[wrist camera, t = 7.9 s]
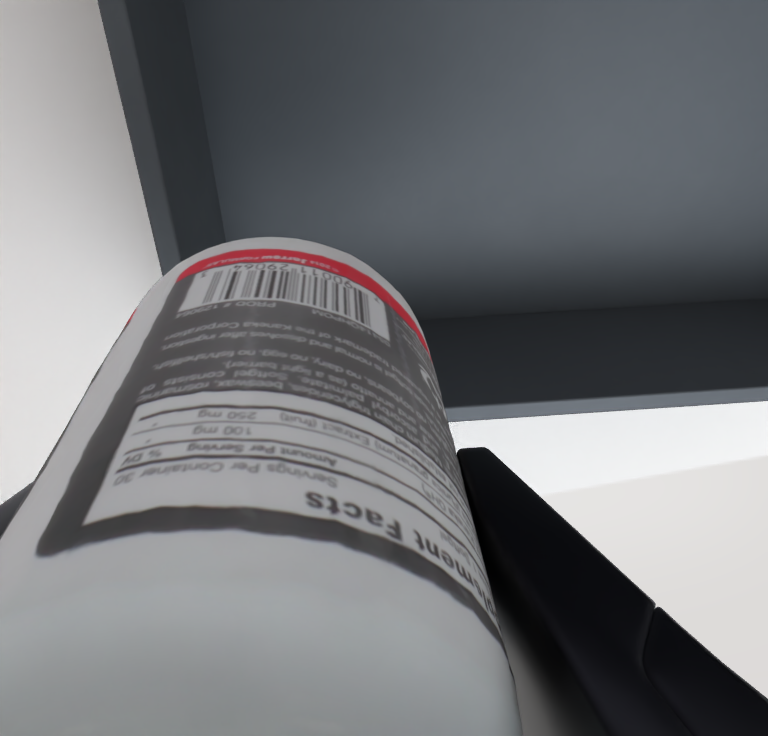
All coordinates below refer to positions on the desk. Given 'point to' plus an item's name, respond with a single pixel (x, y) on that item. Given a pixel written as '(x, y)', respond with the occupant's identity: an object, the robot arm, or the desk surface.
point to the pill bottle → (254, 524)
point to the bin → (484, 176)
